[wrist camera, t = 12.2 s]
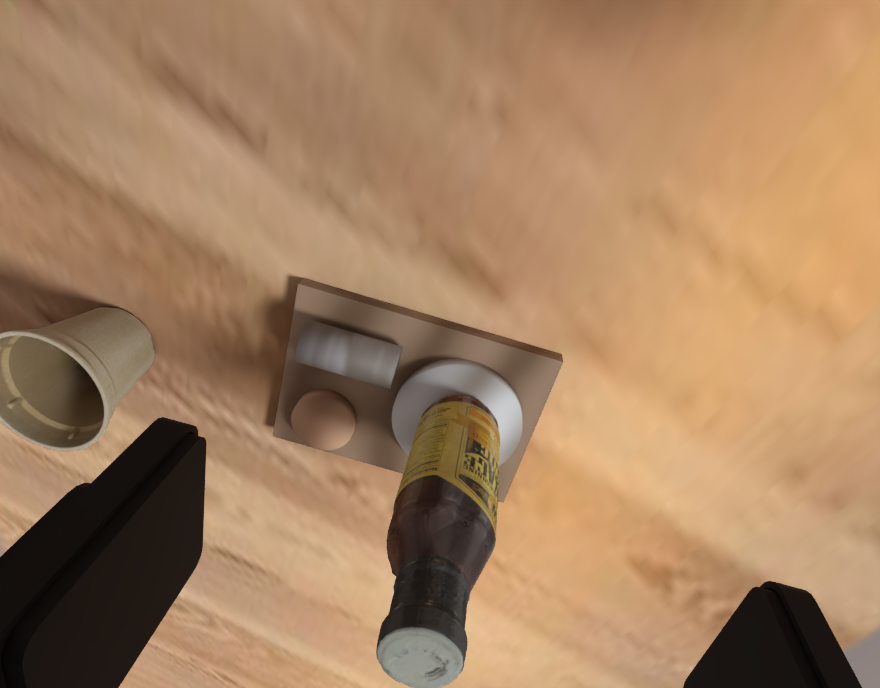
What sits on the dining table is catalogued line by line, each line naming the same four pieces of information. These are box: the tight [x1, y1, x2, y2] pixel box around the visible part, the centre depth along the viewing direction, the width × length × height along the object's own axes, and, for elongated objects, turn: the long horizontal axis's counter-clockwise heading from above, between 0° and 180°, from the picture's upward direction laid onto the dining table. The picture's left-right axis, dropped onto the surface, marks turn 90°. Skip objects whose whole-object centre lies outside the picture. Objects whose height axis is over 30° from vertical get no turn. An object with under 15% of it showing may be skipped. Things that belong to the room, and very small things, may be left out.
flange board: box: [273, 278, 563, 502], centre depth 43 cm, size 20×14×4 cm
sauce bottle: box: [377, 395, 500, 688], centre depth 34 cm, size 7×6×20 cm
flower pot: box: [0, 307, 155, 452], centre depth 42 cm, size 9×9×9 cm
